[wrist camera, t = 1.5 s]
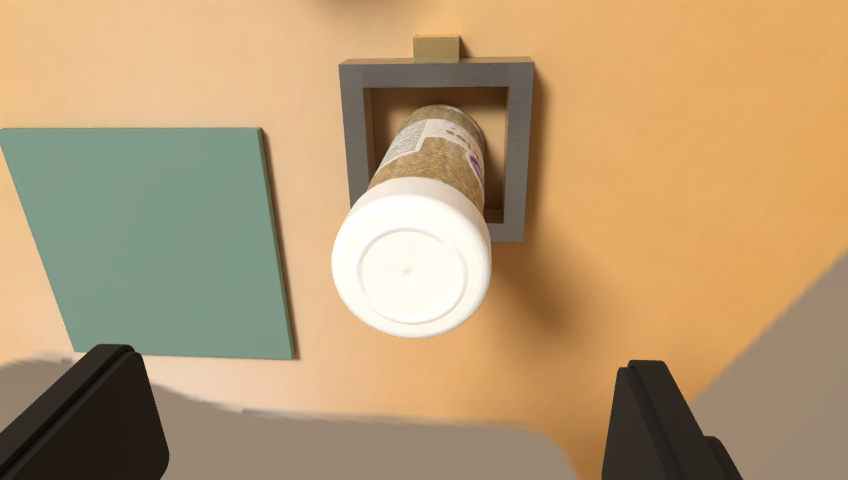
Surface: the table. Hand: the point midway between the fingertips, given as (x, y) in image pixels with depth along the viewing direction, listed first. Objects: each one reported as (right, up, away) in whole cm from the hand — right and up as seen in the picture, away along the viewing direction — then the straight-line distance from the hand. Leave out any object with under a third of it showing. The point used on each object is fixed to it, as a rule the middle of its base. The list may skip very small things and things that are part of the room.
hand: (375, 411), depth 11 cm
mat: (-14, +3, +20) cm, 25 cm away
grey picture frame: (+2, +8, +16) cm, 18 cm away
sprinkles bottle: (+2, +8, +17) cm, 19 cm away
